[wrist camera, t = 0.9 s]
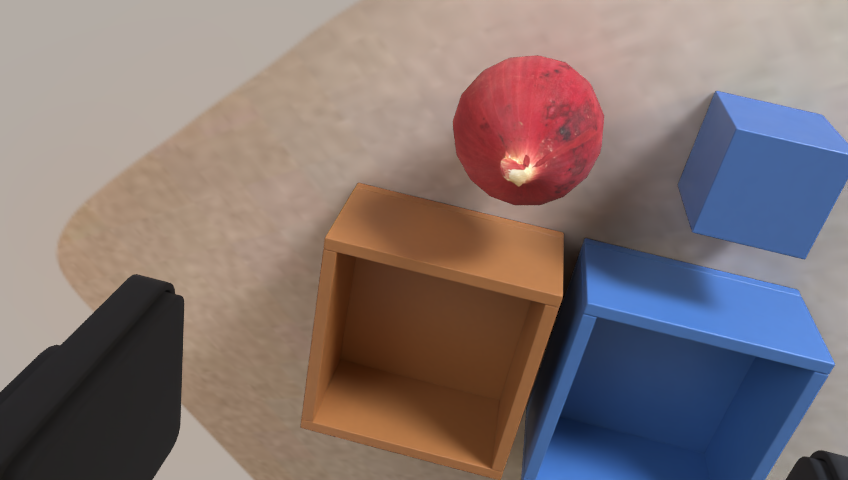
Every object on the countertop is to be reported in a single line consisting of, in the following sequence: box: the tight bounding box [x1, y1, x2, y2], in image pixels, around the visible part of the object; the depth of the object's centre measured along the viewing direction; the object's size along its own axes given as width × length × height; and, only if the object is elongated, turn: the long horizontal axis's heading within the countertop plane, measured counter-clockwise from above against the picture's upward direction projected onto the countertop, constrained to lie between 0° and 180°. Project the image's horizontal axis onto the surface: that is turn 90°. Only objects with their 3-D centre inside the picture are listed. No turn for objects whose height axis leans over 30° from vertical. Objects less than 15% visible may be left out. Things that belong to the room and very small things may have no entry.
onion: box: [453, 56, 604, 205], centre depth 29 cm, size 6×6×8 cm
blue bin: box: [521, 238, 835, 480], centre depth 35 cm, size 11×10×6 cm
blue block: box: [678, 91, 848, 259], centre depth 30 cm, size 4×4×4 cm
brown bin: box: [301, 183, 564, 480], centre depth 36 cm, size 11×10×6 cm
